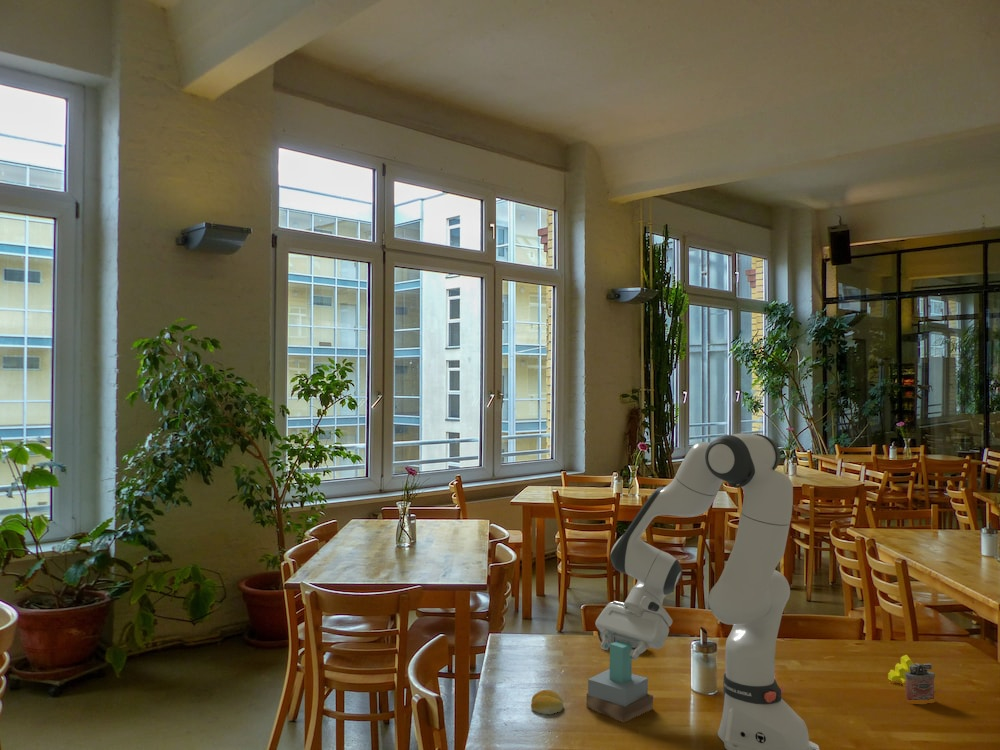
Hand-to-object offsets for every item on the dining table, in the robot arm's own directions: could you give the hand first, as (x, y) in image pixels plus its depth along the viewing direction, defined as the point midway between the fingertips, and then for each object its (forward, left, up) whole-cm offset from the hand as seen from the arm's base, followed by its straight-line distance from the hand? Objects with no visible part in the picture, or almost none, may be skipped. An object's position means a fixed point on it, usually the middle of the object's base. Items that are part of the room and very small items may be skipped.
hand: (617, 653), depth 198 cm
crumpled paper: (-41, -76, -15) cm, 88 cm away
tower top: (+1, -1, -11) cm, 11 cm away
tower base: (0, -1, -15) cm, 15 cm away
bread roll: (+13, +13, -15) cm, 23 cm away
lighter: (-50, -65, -15) cm, 83 cm away
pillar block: (0, -1, -7) cm, 7 cm away
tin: (+29, -39, -15) cm, 51 cm away
